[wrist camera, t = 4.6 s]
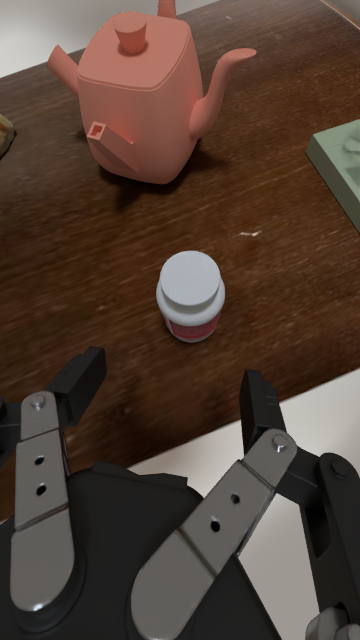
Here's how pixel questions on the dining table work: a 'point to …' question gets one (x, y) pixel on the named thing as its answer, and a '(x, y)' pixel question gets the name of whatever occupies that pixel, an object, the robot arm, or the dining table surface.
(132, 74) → the teapot
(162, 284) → the pill bottle
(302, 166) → the dining table surface
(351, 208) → the socket pad
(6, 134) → the pastry
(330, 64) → the dining table surface
